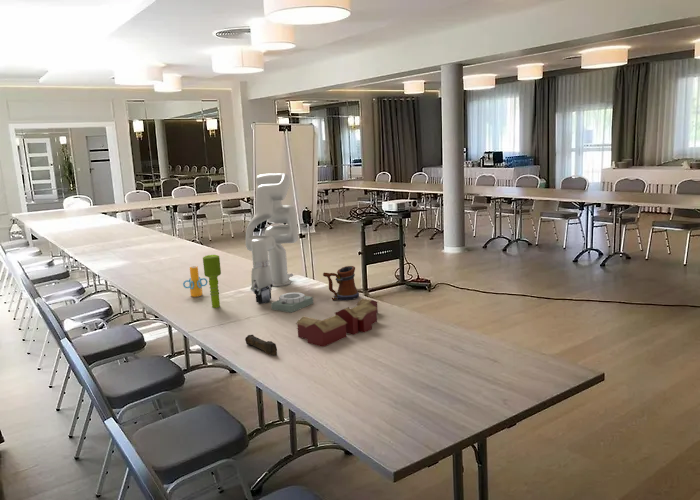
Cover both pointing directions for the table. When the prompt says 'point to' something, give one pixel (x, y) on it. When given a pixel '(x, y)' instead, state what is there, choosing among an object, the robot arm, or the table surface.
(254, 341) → the brown elongated bar
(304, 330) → the toy houses
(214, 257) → the microphone
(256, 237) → the robot arm
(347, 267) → the mug
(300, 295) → the block
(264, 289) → the hub
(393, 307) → the table surface
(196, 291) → the cylinder
